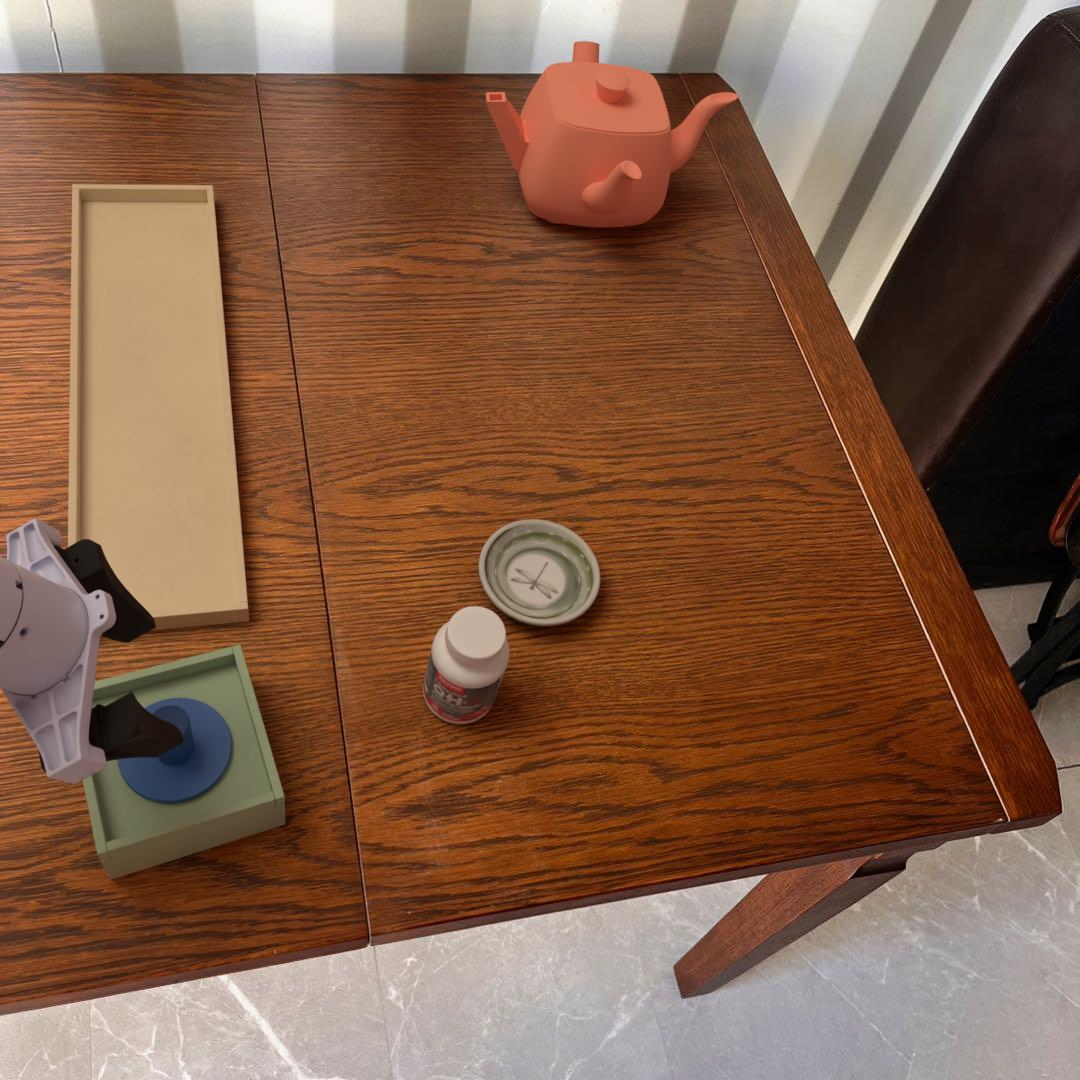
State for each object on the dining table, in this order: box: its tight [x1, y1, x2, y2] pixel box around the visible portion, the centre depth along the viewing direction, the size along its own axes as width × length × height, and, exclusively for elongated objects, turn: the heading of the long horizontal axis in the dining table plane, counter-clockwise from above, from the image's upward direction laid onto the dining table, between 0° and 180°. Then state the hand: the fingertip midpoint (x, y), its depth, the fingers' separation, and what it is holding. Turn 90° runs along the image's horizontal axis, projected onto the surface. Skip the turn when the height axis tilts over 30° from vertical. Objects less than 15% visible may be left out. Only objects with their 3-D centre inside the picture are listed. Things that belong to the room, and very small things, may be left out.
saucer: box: [477, 518, 601, 627], centre depth 85 cm, size 10×10×2 cm
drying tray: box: [67, 183, 250, 632], centre depth 89 cm, size 45×12×2 cm, turn 12°
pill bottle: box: [422, 605, 510, 725], centre depth 76 cm, size 5×5×10 cm
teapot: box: [485, 40, 739, 228], centre depth 108 cm, size 18×18×14 cm
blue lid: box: [117, 698, 232, 804], centre depth 68 cm, size 7×7×5 cm
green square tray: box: [81, 644, 286, 881], centre depth 71 cm, size 11×11×6 cm
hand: (154, 685), depth 63 cm, fingers open, 7 cm apart
